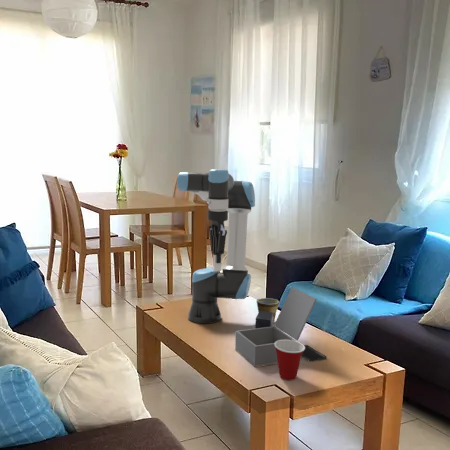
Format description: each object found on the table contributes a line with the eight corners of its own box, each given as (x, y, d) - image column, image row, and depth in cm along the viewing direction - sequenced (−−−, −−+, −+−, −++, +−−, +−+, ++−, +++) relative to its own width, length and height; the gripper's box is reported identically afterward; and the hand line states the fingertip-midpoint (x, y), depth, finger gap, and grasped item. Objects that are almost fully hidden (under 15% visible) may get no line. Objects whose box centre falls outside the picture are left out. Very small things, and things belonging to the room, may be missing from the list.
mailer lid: (291, 286, 231) (293, 287, 231) (274, 325, 230) (275, 326, 230) (315, 298, 214) (317, 299, 214) (296, 340, 213) (298, 341, 214)
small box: (270, 344, 232) (270, 319, 231) (254, 342, 234) (254, 318, 232) (273, 335, 243) (273, 311, 241) (257, 334, 244) (258, 310, 242)
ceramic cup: (282, 323, 259) (283, 302, 257) (265, 327, 253) (265, 305, 252) (264, 315, 270) (265, 295, 268) (248, 319, 264) (248, 298, 262)
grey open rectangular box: (235, 350, 225) (235, 330, 223) (273, 345, 231) (274, 326, 230) (254, 367, 208) (255, 346, 207) (295, 361, 215) (296, 340, 213)
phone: (306, 344, 231) (327, 357, 217) (306, 347, 231) (327, 360, 217) (289, 346, 227) (310, 360, 214) (289, 349, 228) (310, 362, 214)
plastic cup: (296, 386, 193) (297, 352, 191) (267, 378, 198) (268, 345, 196) (309, 375, 202) (310, 343, 200) (281, 368, 207) (282, 337, 206)
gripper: (202, 208, 220) (202, 267, 223) (215, 212, 208) (214, 275, 211) (220, 207, 223) (219, 266, 226) (233, 211, 211) (232, 273, 214)
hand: (217, 270), depth 219 cm, fingers closed
